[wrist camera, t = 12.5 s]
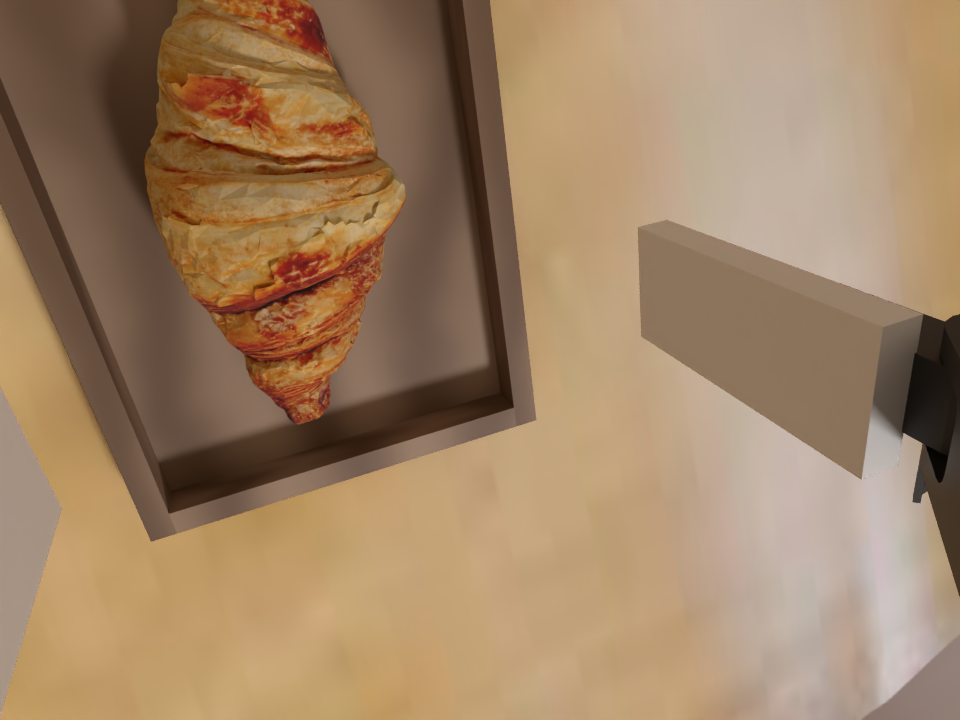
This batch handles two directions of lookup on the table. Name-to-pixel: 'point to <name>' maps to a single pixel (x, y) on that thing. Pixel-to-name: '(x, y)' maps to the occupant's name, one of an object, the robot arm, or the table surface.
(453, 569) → the table surface
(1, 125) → the tray
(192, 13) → the croissant
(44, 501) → the robot arm
